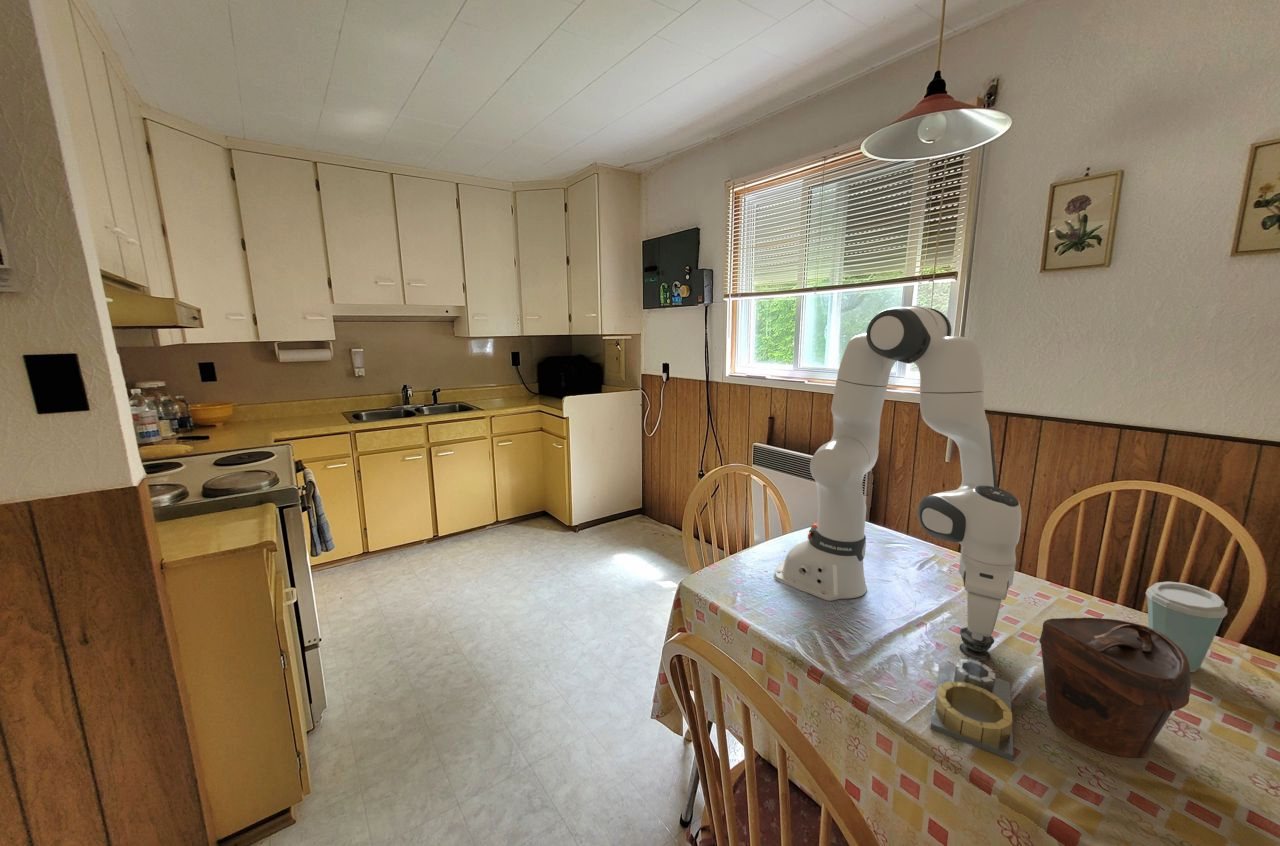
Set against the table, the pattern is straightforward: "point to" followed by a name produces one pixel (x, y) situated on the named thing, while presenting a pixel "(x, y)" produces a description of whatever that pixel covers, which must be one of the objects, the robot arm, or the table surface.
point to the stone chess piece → (975, 645)
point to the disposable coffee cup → (1186, 617)
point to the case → (1112, 682)
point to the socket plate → (974, 707)
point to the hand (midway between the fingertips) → (977, 631)
